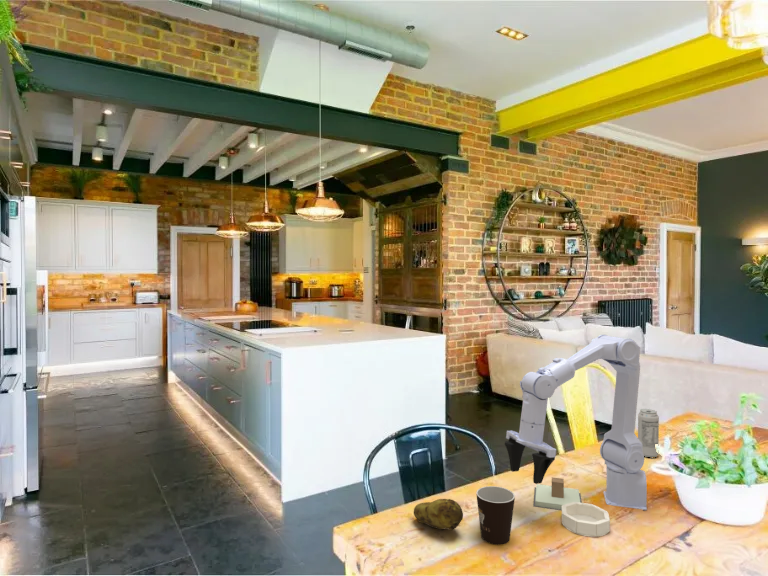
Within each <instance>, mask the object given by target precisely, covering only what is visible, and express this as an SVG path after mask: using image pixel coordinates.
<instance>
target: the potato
mask: <svg viewBox="0 0 768 576" xmlns="http://www.w3.org/2000/svg"><path fill="white" fill-rule="evenodd" d="M461 507H462V506H461V505H460V504H459V503H458V502H457V501H455V500H454V499H452V498H438V499H436V500H432V501H431V502H430V501H427V502H426V501H425V502H420V503H418V504H416V505H415V506H414V508H413V515H414V518H415V519H416V520H417V521H418V522H419V523H421V524H426V525H428V526H430V527H432V528H433V529H440V530H442V529H443V530H444V529H448V530H449V531H453V530H455V529H457V527H458V526H460V524H461V522H462V521H463V518H464V512H463V509H462V508H461Z"/></svg>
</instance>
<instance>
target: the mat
mask: <svg viewBox="0 0 768 576" xmlns="http://www.w3.org/2000/svg"><path fill="white" fill-rule="evenodd" d="M533 490H534V492H533V504H532V505H533V506H532V507H534V508H540V509H549V510H555V511H561V512H562V509H555V508H548V507H541V506H535V499H536V486H535V487H534V488H533ZM579 496H580V503H583V501H582V495H581V492H579Z"/></svg>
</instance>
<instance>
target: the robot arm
mask: <svg viewBox="0 0 768 576" xmlns="http://www.w3.org/2000/svg"><path fill="white" fill-rule="evenodd" d="M640 355H641V346H639V344H638V343H637V342H636V341H635V340H634V339H632V338H631V337H630V338H628V337H626V338H624V337H618V336H612V335H607V334H600V335H598V336H597V337H594V338H592V339H591V341H590V343H589V344H587V345H586V346H584V347H582V349H580V350H578V351H577V352H576V353H574V354H573V355H571V356H570V357H568V358H564V357H555V358H553V359H552V362H550V363H549V364H547V365H545V366H544V367H543V366H542V367H538V370H537V371H536V372H535V371H528V372H527V373H526V374H525V375H523V377H522V379H521V380H520V381H519V387H520V390H521V391H522V407H521V414H520V415H521V416H520V422H519V431H515V430H506V436H505V439H506V440H507V441H504V446H505V448H506V450H507V451H506V452H507V454H508V460H509V465H510V471H511V472H519V470H520V467H521V462H522V457H523V453H524V450H525V448H526V447H527V448H529V449H532V450H533V451H536V453H532V454H531V455H532V461H533V474H532V475H533V476H532V481H533V484H542V483H543V480H544V478H545V475H546V473H547V471H548V469H549V468H550V466H551V465H552V464H553V462H554V461H555V460H556V454H557V449H556V448H555V447H552V446H551V445H549V444H548V443H546V442H545V441H543V440H544V432H545V424H546V417H547V415H546V414H547V407H548V400H549V398H551V397H553V395H554V393H555V390H556V389H558V387H560V386H562V385H564V384H565V383H567V382H569V381H570V380H572V379H573V378H574V377H575V373H576V371H578V370H580V369H581V368H584V367H586V366H588V365H590V364H592V363H593V362H594V363H595V362H596V361H599V360H602V361H603V360H604V361H605V362H607V363H609V365H610V366H611V367H612V368H613V369H614V370H615V372H616V376H615V385H614V386H615V388H614V396H613V397H614V398H613V410H612V419H611V421H612V422H611V429H609V430H608V431H607V432H605V433H604V434H603V440H602V443H601V444H600V448H599V454H600V457H601V458H602V460H604V465H606V483H605V484H606V485H605V486H606V490H604V491H603V496H604V500H605V503H606V505H608V506H614V507H619V508H620V507H622V508H630V509H635V510H643V511H647V510H648V508H647V502H648V501H647V498H648V497H647V496H648V495H647V490H648V489H647V487H648V486H647V483H648V481H647V474H646V472H645V470H642V469H643V466H644V464H645V457H644V455H643V451H642V447H643V444H642V443H641V441H640V440H639V439H638V435H636V433H635V429H636V418H637V407H638V397H639V385H640V376H641V375H640V374H641V363H640Z"/></svg>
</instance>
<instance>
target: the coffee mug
mask: <svg viewBox="0 0 768 576" xmlns="http://www.w3.org/2000/svg"><path fill="white" fill-rule="evenodd" d="M475 494H476V501H477V502H476V503H477V509H478V512H477V513H478V518H479V521H478V522H479V529H480V536H481V539H482V541H484V542H486V543H488V544H491V545H497V546H500V545H501V546H502V545H506V544H507V543H509V542H510V540H511V532H512V531H511V530H512V523H513V515H514V507H515V500H516V495H515V493H514V492H513V491H511V489H508V488H505V487H502V486H497V485H496V486H495V485H490V486H489V485H488V486H483V487H480V488H478V489H477V490H476V492H475Z"/></svg>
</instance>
